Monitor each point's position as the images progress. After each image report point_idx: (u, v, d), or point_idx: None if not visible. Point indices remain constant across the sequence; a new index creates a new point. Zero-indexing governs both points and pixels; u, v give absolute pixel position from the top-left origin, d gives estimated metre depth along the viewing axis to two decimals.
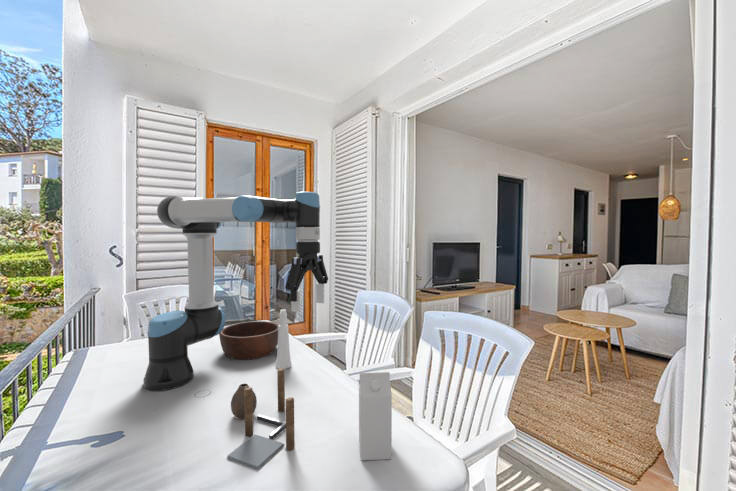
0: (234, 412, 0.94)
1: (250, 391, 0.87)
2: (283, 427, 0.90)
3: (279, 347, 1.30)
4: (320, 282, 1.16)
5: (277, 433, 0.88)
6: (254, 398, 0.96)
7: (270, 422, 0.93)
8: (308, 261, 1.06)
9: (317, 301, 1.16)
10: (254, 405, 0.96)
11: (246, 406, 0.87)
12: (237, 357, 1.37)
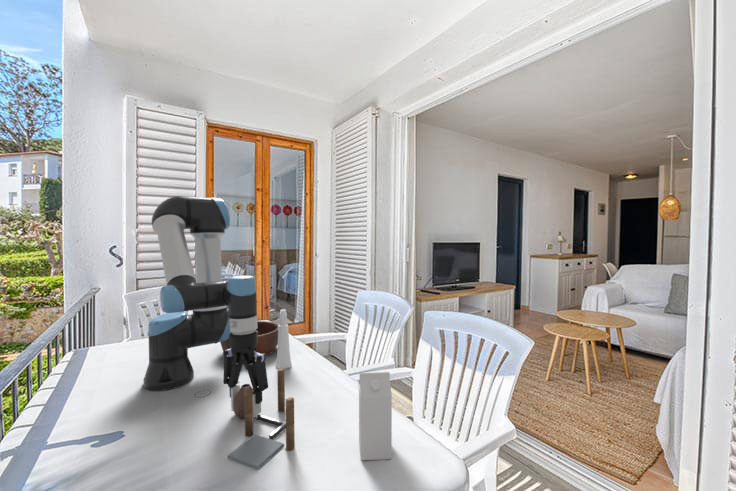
0: (236, 413, 0.94)
1: (250, 391, 0.87)
2: (283, 427, 0.90)
3: (279, 347, 1.30)
4: None
5: (277, 433, 0.88)
6: None
7: (270, 422, 0.93)
8: None
9: None
10: None
11: (246, 406, 0.87)
12: None
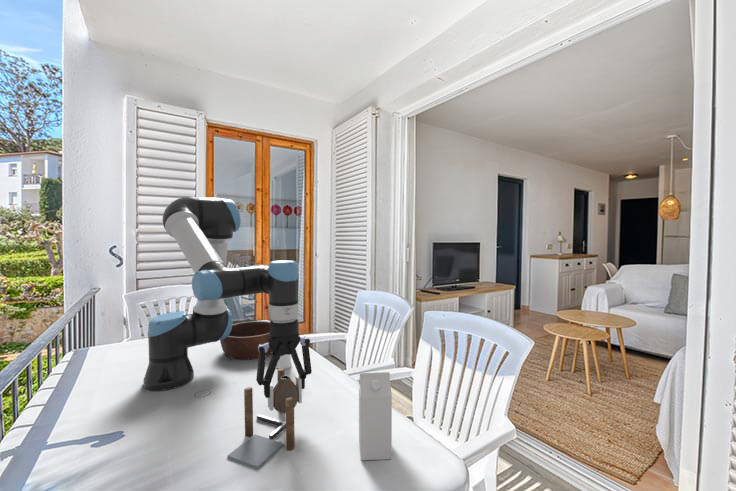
0: None
1: (250, 391, 0.87)
2: (283, 427, 0.90)
3: None
4: (299, 374, 0.93)
5: (277, 433, 0.88)
6: None
7: (270, 422, 0.93)
8: (278, 346, 0.88)
9: None
10: None
11: (246, 406, 0.87)
12: (237, 357, 1.37)
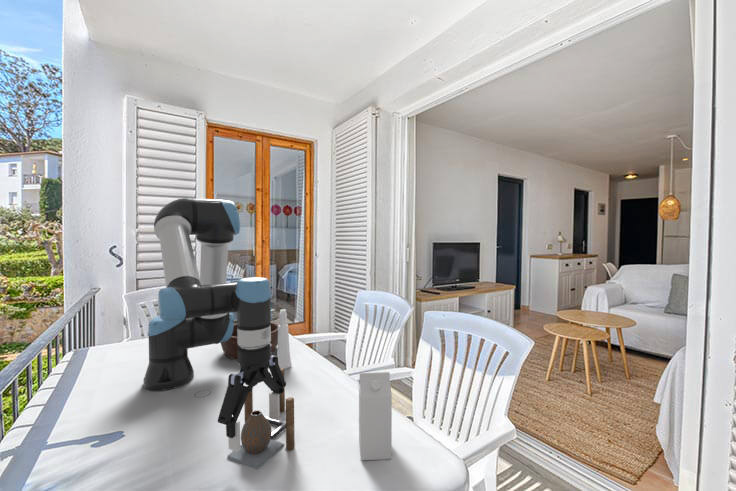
0: (266, 442, 0.80)
1: (250, 391, 0.87)
2: (283, 427, 0.90)
3: (279, 347, 1.30)
4: (274, 391, 0.87)
5: (277, 433, 0.88)
6: None
7: (270, 422, 0.93)
8: (253, 375, 0.78)
9: (270, 416, 0.87)
10: None
11: (246, 406, 0.87)
12: (237, 357, 1.37)
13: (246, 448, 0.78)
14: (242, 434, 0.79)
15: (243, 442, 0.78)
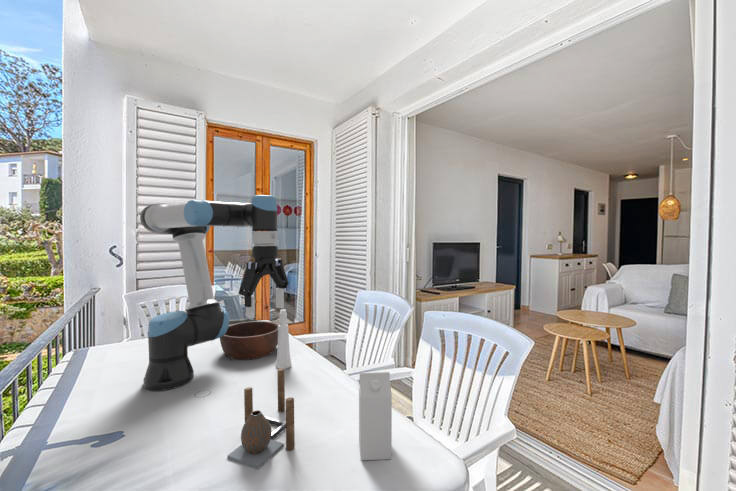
0: (266, 442, 0.80)
1: (250, 391, 0.87)
2: (283, 427, 0.90)
3: (279, 347, 1.30)
4: (280, 287, 1.14)
5: (277, 433, 0.88)
6: None
7: (270, 422, 0.93)
8: (264, 266, 1.04)
9: (277, 306, 1.14)
10: None
11: (246, 406, 0.87)
12: (237, 357, 1.37)
13: (246, 448, 0.78)
14: (242, 434, 0.79)
15: (243, 442, 0.78)
